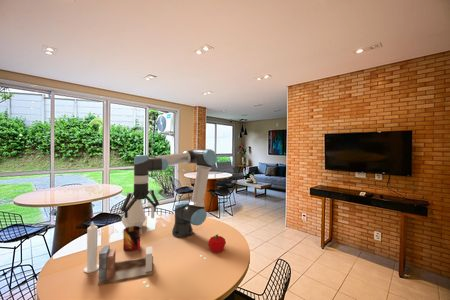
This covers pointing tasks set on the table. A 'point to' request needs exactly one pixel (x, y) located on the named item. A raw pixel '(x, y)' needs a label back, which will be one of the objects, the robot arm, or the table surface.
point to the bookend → (148, 259)
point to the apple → (217, 243)
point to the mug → (131, 238)
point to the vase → (135, 215)
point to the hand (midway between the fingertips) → (140, 220)
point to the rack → (120, 267)
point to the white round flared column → (92, 249)
